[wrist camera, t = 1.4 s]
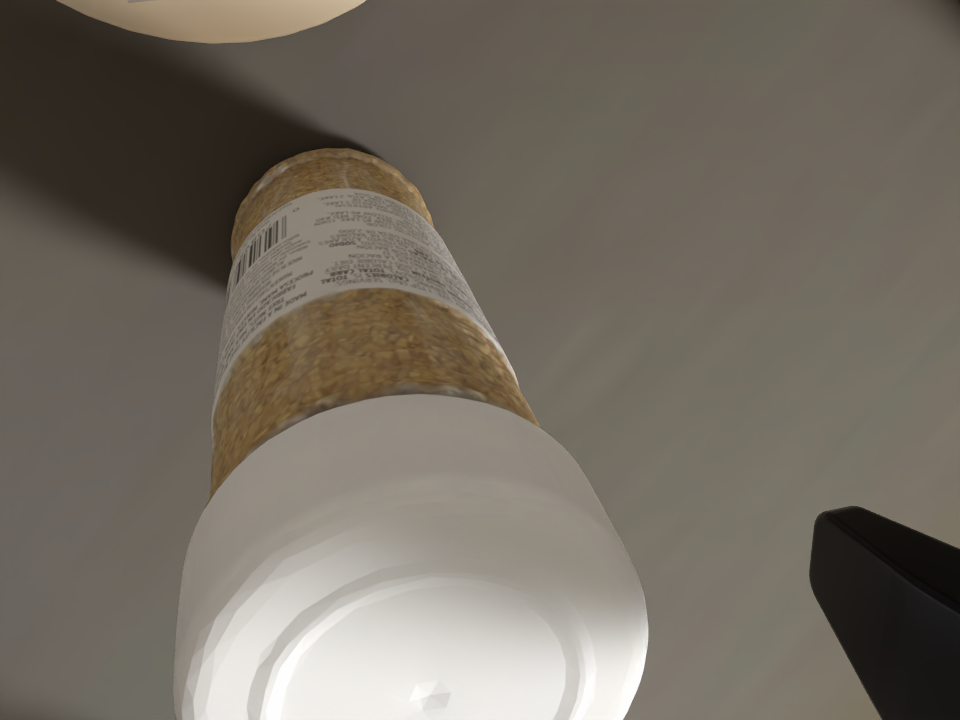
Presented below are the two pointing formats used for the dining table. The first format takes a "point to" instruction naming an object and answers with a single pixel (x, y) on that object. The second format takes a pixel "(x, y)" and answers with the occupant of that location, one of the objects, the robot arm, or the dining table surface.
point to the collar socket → (214, 17)
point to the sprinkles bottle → (387, 488)
